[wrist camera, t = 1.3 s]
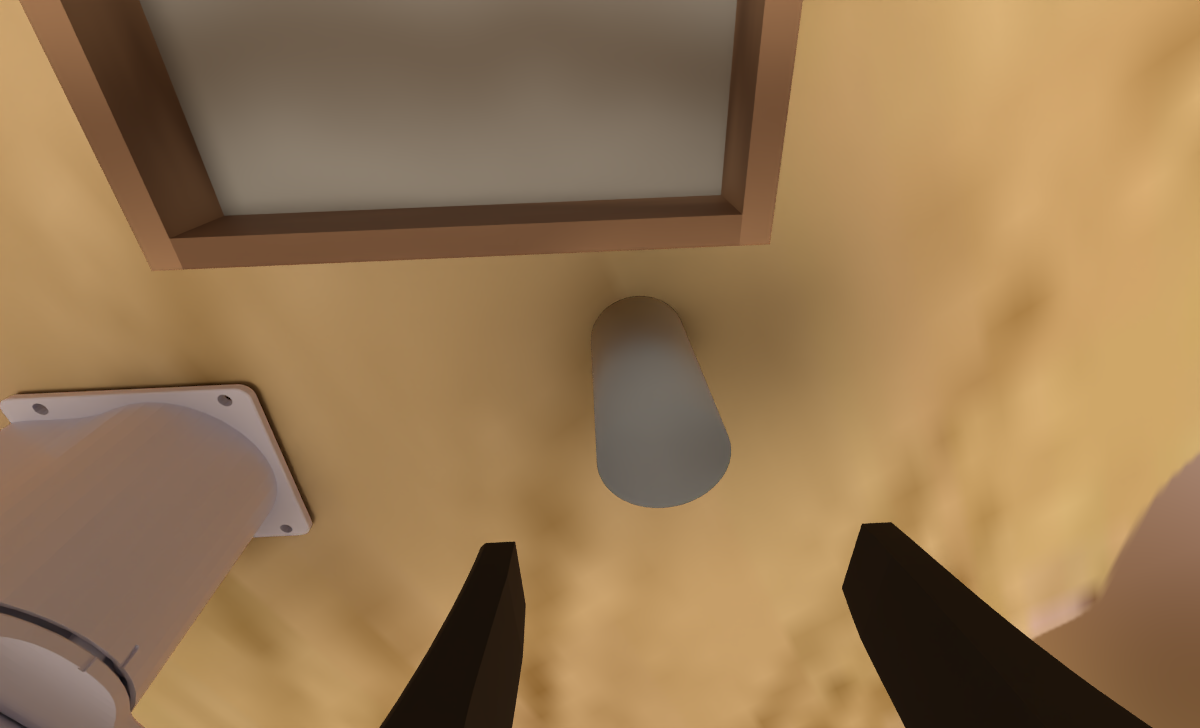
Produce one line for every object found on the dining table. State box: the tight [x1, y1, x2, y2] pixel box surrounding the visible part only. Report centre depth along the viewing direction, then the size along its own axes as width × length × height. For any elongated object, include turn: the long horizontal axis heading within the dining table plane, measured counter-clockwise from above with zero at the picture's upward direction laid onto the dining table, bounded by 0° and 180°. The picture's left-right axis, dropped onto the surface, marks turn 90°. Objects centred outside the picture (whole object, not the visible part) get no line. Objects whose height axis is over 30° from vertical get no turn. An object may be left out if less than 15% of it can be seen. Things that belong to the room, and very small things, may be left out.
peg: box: [591, 296, 731, 508], centre depth 17 cm, size 4×4×7 cm
